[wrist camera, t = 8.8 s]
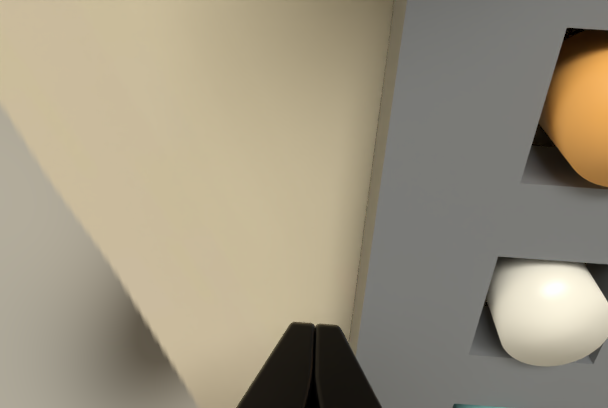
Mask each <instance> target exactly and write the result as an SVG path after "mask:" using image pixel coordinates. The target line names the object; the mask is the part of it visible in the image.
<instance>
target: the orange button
mask: <svg viewBox="0 0 608 408" xmlns="http://www.w3.org/2000/svg"><path fill="white" fill-rule="evenodd" d="M538 123H539V124H540V126H541V127H542V128H543V130H544V131H545V132H546V133H547V135H548V136H549V137H550V139H551V140H552V141H553V143H554V144H555V145H556V147H557V148H558V149H559V151H560V152H561V153H562V154H563V156H564V157H565V158H566V160H567V161H568V162H569V164H570V165H571V166H572V168H573V169H574V170H575V171H576V172H577V173H578V174H579V175H580V176H581V177H583V178H584V179H586V180H588V181H589V182H592V183H594V184H597V185H601V186H605V187H608V30H596V29H590V30H586V31H583V32H580V33H578V34H576V35H574V36H572V37H570V38H568V39H566V40H565V41H563V42H562V46H561V49H560V52H559V56H558V59H557V62H556V65H555V69H554V72H553V75H552V79H551V82H550V85H549V89H548V92H547V95H546V99H545V102H544V105H543V109H542V112H541V115H540V119H539V122H538Z"/></svg>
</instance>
